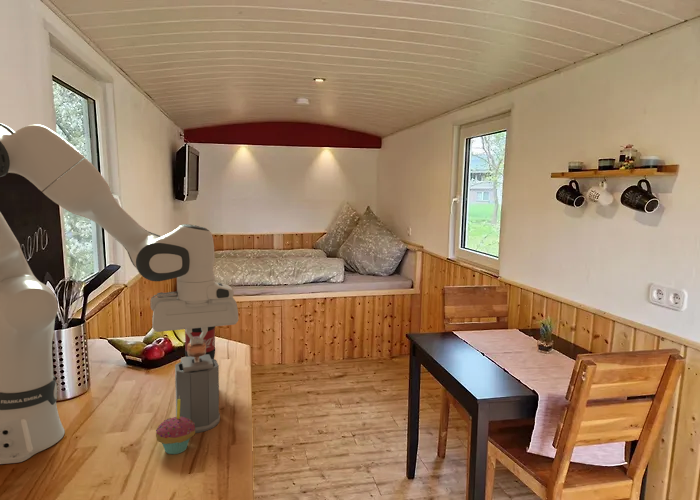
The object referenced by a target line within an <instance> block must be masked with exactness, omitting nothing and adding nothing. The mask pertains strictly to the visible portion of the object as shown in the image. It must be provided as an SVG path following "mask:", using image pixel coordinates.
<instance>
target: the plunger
mask: <svg viewBox="0 0 700 500" xmlns="http://www.w3.org/2000/svg"><path fill="white" fill-rule="evenodd" d="M187 354H188V356H191V357H194V363H196V362H199V356H203V355H205V354H206V343H205V342H203V344H202V345H193V346H191V344H190V343H189V344H188V345H187ZM194 372H199V370H198V371H194Z"/></svg>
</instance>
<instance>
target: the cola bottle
mask: <svg viewBox="0 0 700 500" xmlns="http://www.w3.org/2000/svg"><path fill="white" fill-rule="evenodd" d="M215 329H216V326H214V327H208V332H207V333H206V335H205V337H204V338H203V342H205V343H206V354H209V355H210V357H211V359H215V355H216V336H215V335H216V332H215V331H216V330H215ZM184 332H185V333H184V335H185V337H184V338H185V339H184V340H185V341H184V342H185V347H184V348H185V349H184V355H185V356H184V357H189V356H188V354H187V345H188V344H189V343H190V338H189V336H188V335H187V334H186V331H185V330H184ZM201 333H202V330H201V328H193V329H192V333H191V335H192V336H193V337H196V336H200V334H201ZM206 354H205V355H206Z"/></svg>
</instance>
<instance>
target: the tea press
mask: <svg viewBox="0 0 700 500" xmlns="http://www.w3.org/2000/svg"><path fill="white" fill-rule="evenodd" d="M219 366H220V365H219V363H218V361H217V360H216V359H215V358H214V359H211V357H210V355H209V354H206V355H203V356H199V362H196V363H194V357H191V356H189V357H186V356H183V357H182V356H181V357H180V361H179V362H178V363H176V364H174V367H175V368H174V370H175V371H174V374H175V375H174V376H175V379H174V380H175V381H174V383H175V417H177V400H178V399H179V396H180V416H182V417H185V418H189V419H191V421H192V422H193V423H195V425H194V426H195V434H199V433H204V432H207V431H210V430H212V429H214V428H215V427H217V426H218V424H219V423H220V421H221V419H220V418H221V416H220V410H219V409H220V402H219V401H220V400H219V399H220V397H219V395H220V393H219V392H220V388H219V385H220V384H219V383H220V382H219V379H220V376H219V373H220V372H219V371H220V370H219V369H220V368H219ZM198 370H199V372H194V371H198Z"/></svg>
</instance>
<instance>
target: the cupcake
mask: <svg viewBox="0 0 700 500" xmlns="http://www.w3.org/2000/svg"><path fill="white" fill-rule="evenodd" d="M194 425H195V423H193V422H192V421H191V419H189V418H185V417H182V416H180V396H179V399H178V400H177V417H176V416H174V417H169V418H167V419H165V420H164V421H162V422H160V424H159V425H158V427H157V428H156V430H155V431H156V432H155V437H156V441H157V442H158V443H161V444H162V446H163V449H164V451H165V453H166V454H168V455H178V454H181V453H183V452H185V451H186V449H187V448H188V444H189V442H190V439H191V438H193V437H194V436H195V434H196V433H195V426H194Z"/></svg>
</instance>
